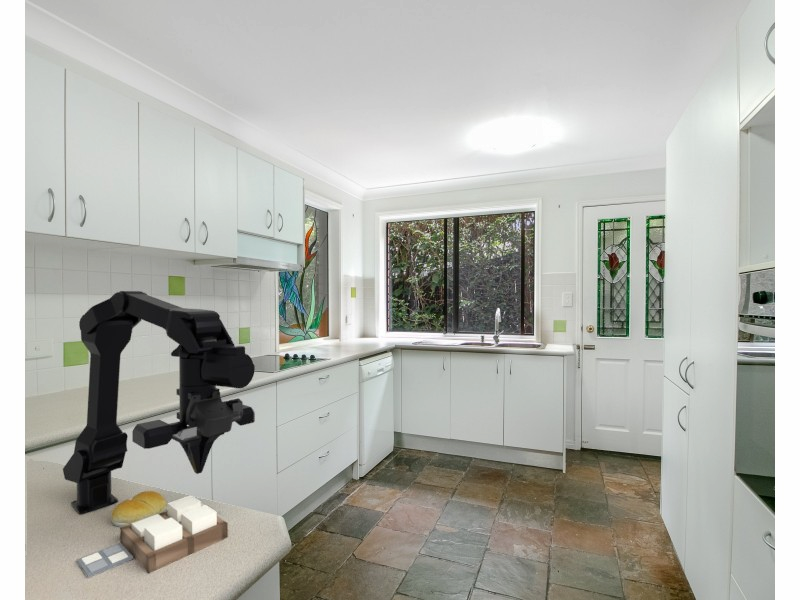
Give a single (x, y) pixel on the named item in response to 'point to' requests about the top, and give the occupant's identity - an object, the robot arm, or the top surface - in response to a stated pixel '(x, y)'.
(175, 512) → the button
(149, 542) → the button
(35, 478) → the top surface
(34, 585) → the top surface
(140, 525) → the button
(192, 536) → the brown flat square grid
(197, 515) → the button
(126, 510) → the bread roll
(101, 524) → the top surface
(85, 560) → the pattern card
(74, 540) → the top surface
